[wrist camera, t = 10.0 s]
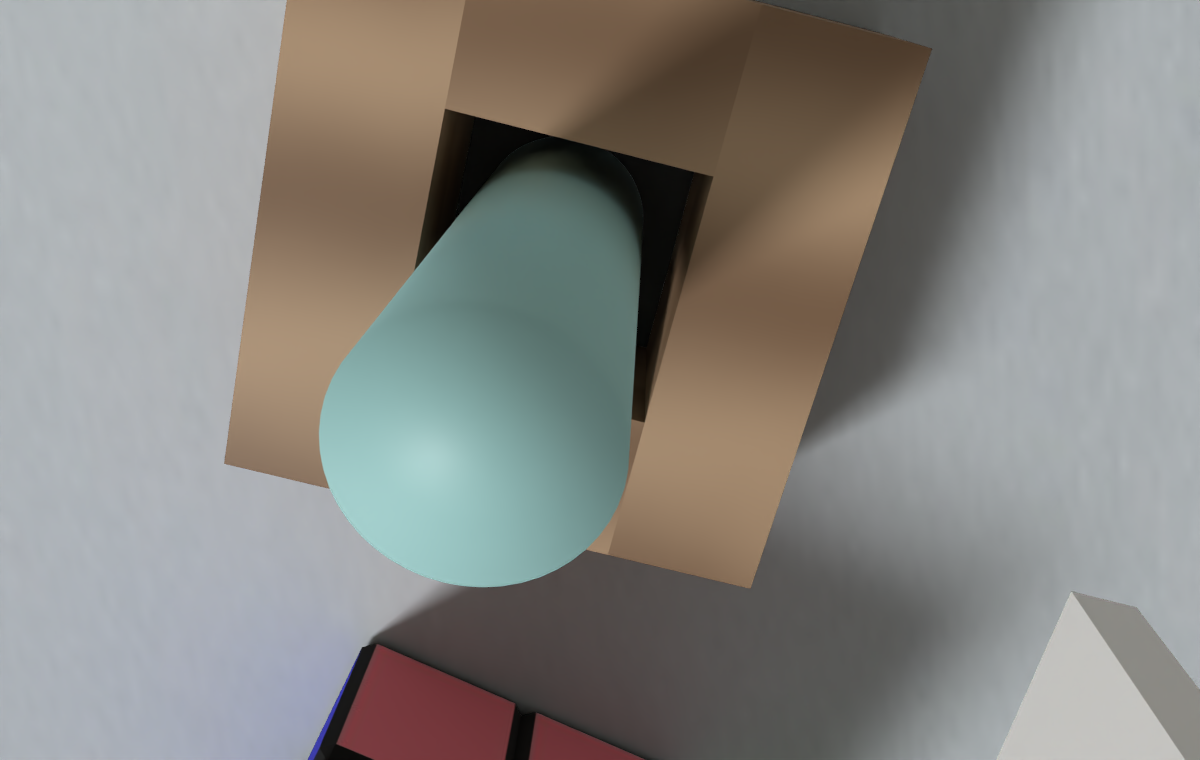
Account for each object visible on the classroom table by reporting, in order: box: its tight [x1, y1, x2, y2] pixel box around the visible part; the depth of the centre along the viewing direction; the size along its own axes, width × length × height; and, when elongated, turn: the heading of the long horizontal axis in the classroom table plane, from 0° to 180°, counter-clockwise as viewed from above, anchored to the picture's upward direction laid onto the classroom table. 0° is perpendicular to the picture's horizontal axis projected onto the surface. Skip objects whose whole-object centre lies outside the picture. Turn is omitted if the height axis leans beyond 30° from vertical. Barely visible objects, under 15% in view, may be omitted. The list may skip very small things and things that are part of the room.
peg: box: [319, 137, 644, 587], centre depth 21 cm, size 4×4×14 cm
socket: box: [224, 0, 932, 589], centre depth 25 cm, size 12×12×5 cm
